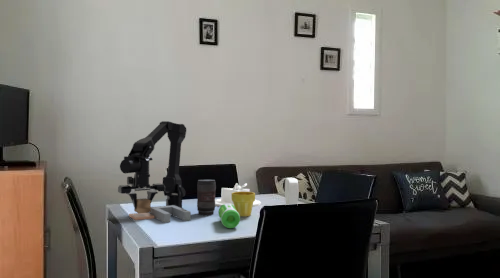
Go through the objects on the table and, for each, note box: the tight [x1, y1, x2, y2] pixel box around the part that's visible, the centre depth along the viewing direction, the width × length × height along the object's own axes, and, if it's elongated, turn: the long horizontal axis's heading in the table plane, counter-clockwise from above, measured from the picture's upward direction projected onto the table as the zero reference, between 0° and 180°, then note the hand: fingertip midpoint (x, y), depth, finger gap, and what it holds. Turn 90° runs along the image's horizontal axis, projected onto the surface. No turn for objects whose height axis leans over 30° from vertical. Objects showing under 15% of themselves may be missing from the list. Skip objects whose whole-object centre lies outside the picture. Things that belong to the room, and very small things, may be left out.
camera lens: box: [196, 179, 217, 216], centre depth 201 cm, size 8×8×15 cm
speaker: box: [218, 203, 241, 229], centre depth 179 cm, size 18×7×8 cm, turn 8°
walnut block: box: [133, 198, 152, 213], centre depth 190 cm, size 5×6×5 cm
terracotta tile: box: [128, 212, 155, 221], centre depth 191 cm, size 8×9×1 cm
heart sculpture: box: [284, 177, 300, 206], centre depth 184 cm, size 16×5×18 cm, turn 2°
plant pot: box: [232, 191, 256, 217], centre depth 199 cm, size 10×10×10 cm
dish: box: [215, 182, 262, 208], centre depth 230 cm, size 25×25×11 cm
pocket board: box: [149, 205, 192, 224], centre depth 191 cm, size 11×18×4 cm, turn 31°
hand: (141, 208), depth 191 cm, fingers closed on walnut block, 5 cm apart
